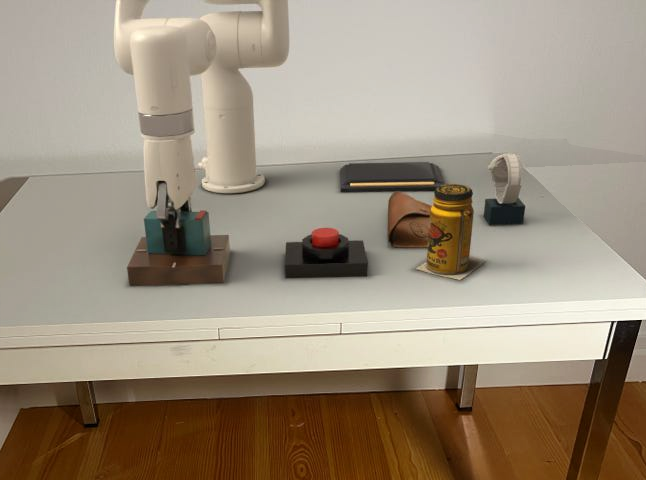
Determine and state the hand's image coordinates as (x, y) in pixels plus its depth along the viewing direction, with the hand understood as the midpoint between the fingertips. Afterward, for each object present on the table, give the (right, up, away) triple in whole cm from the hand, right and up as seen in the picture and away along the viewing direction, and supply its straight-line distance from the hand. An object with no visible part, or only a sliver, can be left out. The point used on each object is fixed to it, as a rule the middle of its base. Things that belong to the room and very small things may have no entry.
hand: (179, 245), depth 114 cm
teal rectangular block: (0, -1, 0) cm, 1 cm away
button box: (+22, -3, 0) cm, 22 cm away
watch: (+53, +6, +14) cm, 55 cm away
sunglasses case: (+38, +5, +12) cm, 40 cm away
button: (+22, 0, -2) cm, 22 cm away
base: (0, -3, +2) cm, 4 cm away
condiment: (+41, -4, -2) cm, 41 cm away
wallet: (+38, +18, +35) cm, 55 cm away
